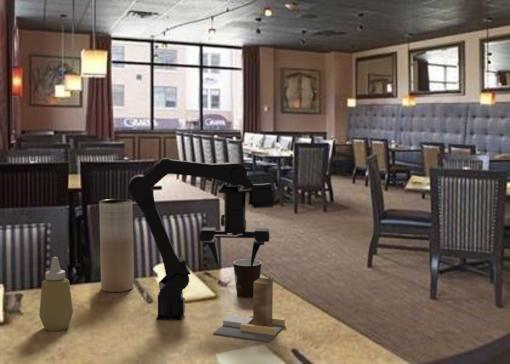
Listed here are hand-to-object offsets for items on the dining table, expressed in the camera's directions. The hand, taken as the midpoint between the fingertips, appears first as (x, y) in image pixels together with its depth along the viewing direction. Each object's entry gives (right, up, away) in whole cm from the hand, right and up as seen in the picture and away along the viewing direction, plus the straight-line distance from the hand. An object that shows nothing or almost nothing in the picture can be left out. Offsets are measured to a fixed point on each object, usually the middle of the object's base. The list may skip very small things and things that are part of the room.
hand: (234, 265), depth 152 cm
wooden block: (+8, -14, -11) cm, 19 cm away
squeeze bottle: (-44, -14, -11) cm, 48 cm away
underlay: (+4, -14, -12) cm, 19 cm away
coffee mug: (+4, -12, +19) cm, 23 cm away
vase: (-38, -11, +24) cm, 46 cm away
